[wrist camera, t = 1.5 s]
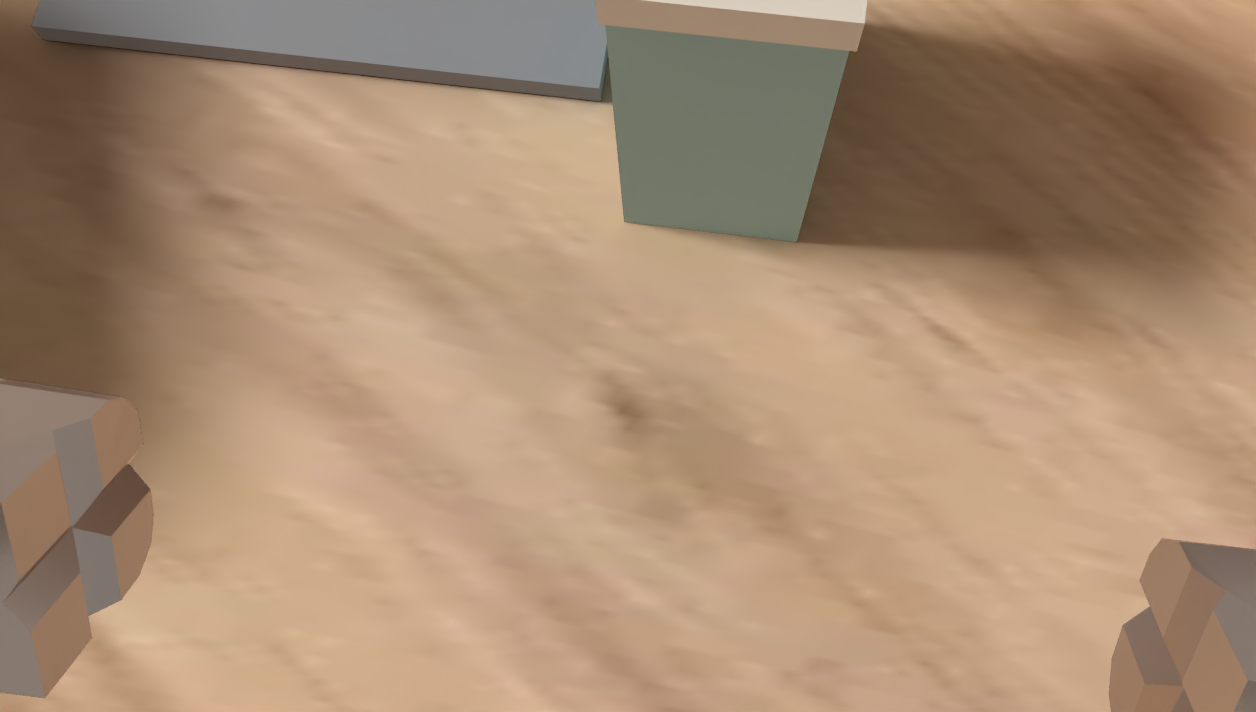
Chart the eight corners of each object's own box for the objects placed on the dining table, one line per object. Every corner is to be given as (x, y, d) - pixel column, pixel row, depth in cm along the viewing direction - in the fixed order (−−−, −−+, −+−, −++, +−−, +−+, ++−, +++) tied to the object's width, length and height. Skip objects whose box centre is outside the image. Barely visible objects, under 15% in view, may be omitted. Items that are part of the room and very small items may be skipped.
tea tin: (825, 12, 28) (896, -297, 19) (800, 246, 26) (864, 23, 18) (655, -6, 28) (648, -318, 20) (619, 225, 27) (594, -5, 18)
